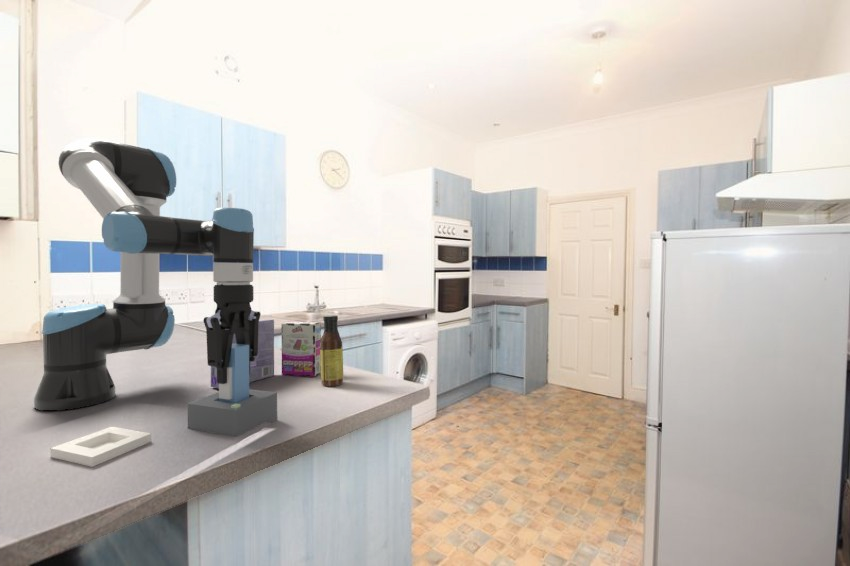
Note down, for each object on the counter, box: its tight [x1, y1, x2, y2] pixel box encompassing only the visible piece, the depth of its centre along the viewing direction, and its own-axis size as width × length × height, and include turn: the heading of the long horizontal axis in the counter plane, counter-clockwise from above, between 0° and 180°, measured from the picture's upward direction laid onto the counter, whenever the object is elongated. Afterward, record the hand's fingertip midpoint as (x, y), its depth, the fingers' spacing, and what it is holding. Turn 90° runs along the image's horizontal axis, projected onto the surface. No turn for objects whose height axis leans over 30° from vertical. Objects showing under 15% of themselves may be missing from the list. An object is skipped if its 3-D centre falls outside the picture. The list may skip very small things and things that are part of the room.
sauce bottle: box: [320, 314, 344, 387], centre depth 116 cm, size 7×6×20 cm
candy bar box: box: [281, 321, 322, 378], centre depth 127 cm, size 11×5×16 cm, turn 81°
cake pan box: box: [210, 319, 275, 390], centre depth 118 cm, size 19×5×18 cm, turn 150°
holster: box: [50, 426, 152, 467], centre depth 72 cm, size 10×10×2 cm
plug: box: [220, 344, 250, 403], centre depth 85 cm, size 4×4×14 cm
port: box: [187, 388, 278, 437], centre depth 85 cm, size 12×12×6 cm
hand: (234, 394), depth 85 cm, fingers closed on plug, 4 cm apart
